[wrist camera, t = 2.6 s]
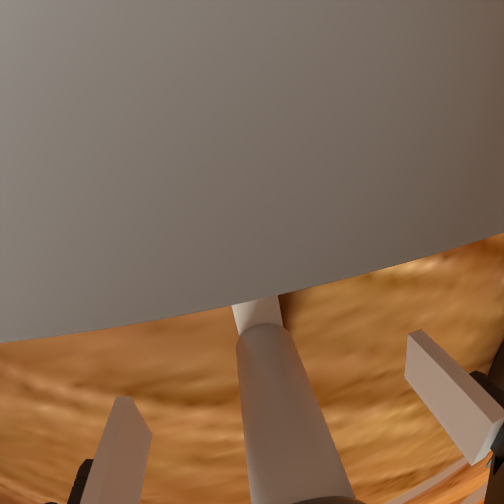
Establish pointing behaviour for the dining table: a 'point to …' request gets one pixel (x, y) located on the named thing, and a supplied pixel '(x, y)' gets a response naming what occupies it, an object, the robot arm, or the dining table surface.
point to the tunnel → (236, 150)
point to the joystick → (283, 416)
